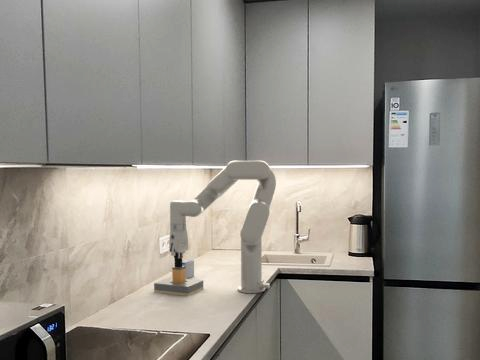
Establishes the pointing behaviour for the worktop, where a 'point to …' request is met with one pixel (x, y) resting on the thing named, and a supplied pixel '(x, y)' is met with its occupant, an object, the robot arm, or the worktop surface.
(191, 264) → the medicine box
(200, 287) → the socket block
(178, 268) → the plug
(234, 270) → the worktop surface
